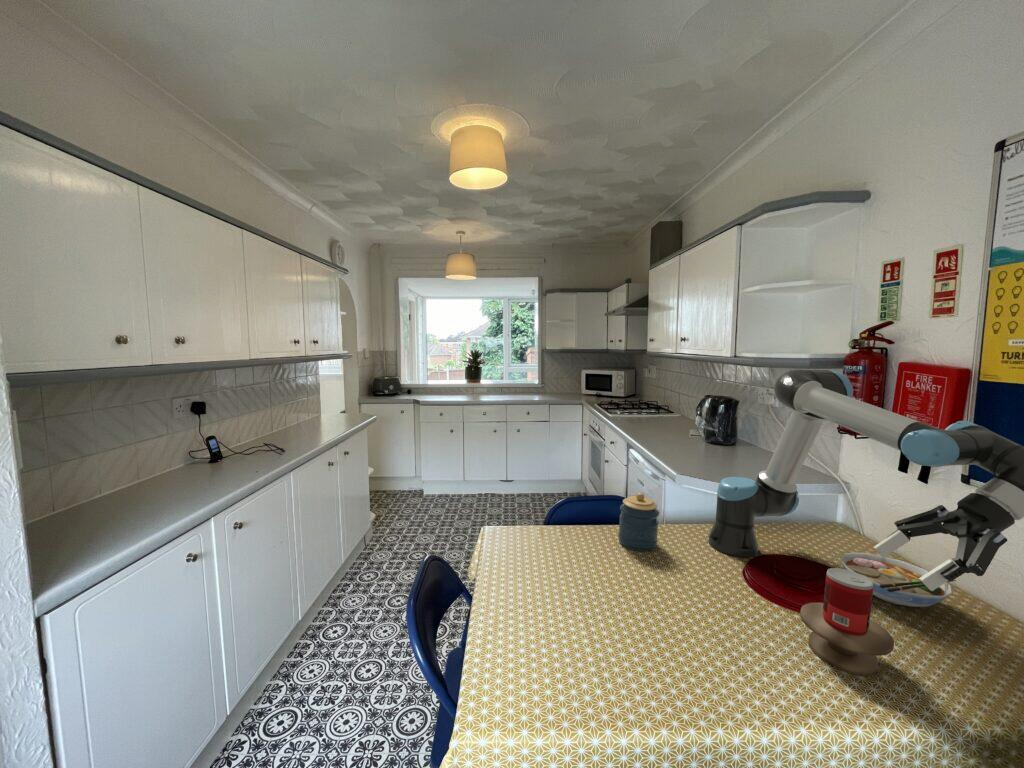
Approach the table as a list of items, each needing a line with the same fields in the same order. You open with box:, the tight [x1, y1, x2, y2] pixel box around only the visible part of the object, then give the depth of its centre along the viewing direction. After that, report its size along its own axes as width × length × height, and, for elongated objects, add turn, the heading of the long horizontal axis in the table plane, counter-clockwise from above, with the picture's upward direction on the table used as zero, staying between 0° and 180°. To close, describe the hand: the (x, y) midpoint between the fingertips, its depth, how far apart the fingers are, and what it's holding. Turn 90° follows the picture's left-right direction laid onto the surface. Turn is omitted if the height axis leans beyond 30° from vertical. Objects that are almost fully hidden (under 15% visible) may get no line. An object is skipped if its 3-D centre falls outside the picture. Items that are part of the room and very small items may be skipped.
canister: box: [617, 492, 660, 552], centre depth 142 cm, size 13×13×18 cm
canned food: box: [822, 567, 874, 636], centre depth 91 cm, size 8×8×11 cm
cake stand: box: [799, 602, 895, 677], centre depth 91 cm, size 16×16×7 cm
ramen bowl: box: [840, 552, 957, 608], centre depth 114 cm, size 25×23×8 cm
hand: (900, 567), depth 88 cm, fingers open, 13 cm apart
